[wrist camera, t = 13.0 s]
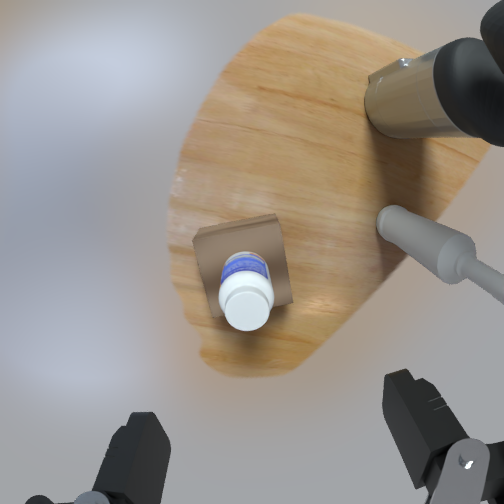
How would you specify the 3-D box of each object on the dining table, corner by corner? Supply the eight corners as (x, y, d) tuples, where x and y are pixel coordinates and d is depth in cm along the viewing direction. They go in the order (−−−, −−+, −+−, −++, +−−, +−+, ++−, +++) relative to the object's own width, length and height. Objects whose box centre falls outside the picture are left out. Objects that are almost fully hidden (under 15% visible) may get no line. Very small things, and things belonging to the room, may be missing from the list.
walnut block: (199, 228, 42) (192, 240, 36) (275, 213, 41) (279, 223, 35) (216, 296, 44) (212, 317, 39) (287, 283, 44) (293, 303, 38)
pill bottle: (213, 264, 37) (203, 301, 27) (255, 241, 36) (258, 273, 27) (237, 301, 38) (235, 346, 29) (277, 280, 37) (287, 322, 28)
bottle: (411, 225, 42) (535, 296, 18) (385, 246, 43) (496, 336, 19) (396, 196, 41) (527, 249, 17) (368, 217, 41) (485, 292, 18)
